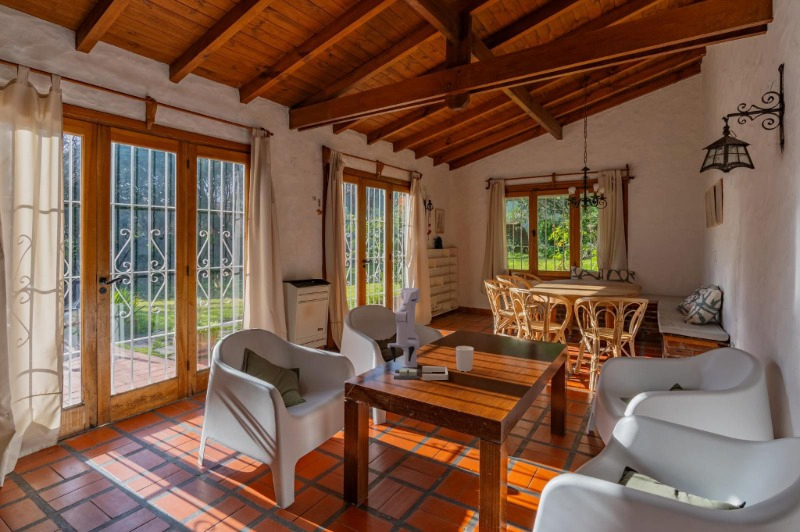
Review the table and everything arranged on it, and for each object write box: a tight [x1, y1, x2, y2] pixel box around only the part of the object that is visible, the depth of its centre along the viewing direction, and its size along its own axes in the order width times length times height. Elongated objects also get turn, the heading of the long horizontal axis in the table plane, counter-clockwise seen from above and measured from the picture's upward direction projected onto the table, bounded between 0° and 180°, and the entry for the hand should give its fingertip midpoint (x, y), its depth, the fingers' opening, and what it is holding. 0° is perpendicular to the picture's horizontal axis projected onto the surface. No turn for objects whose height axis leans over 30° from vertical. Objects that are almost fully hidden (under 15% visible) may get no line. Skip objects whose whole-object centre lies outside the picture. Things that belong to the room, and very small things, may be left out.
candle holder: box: [455, 345, 475, 373], centre depth 234 cm, size 10×10×12 cm
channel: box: [393, 369, 421, 380], centre depth 224 cm, size 12×13×1 cm
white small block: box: [398, 368, 408, 376], centre depth 224 cm, size 4×4×3 cm
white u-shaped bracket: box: [421, 365, 449, 381], centre depth 223 cm, size 14×13×3 cm
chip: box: [408, 368, 418, 376], centre depth 224 cm, size 4×4×3 cm
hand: (401, 361), depth 218 cm, fingers open, 7 cm apart
